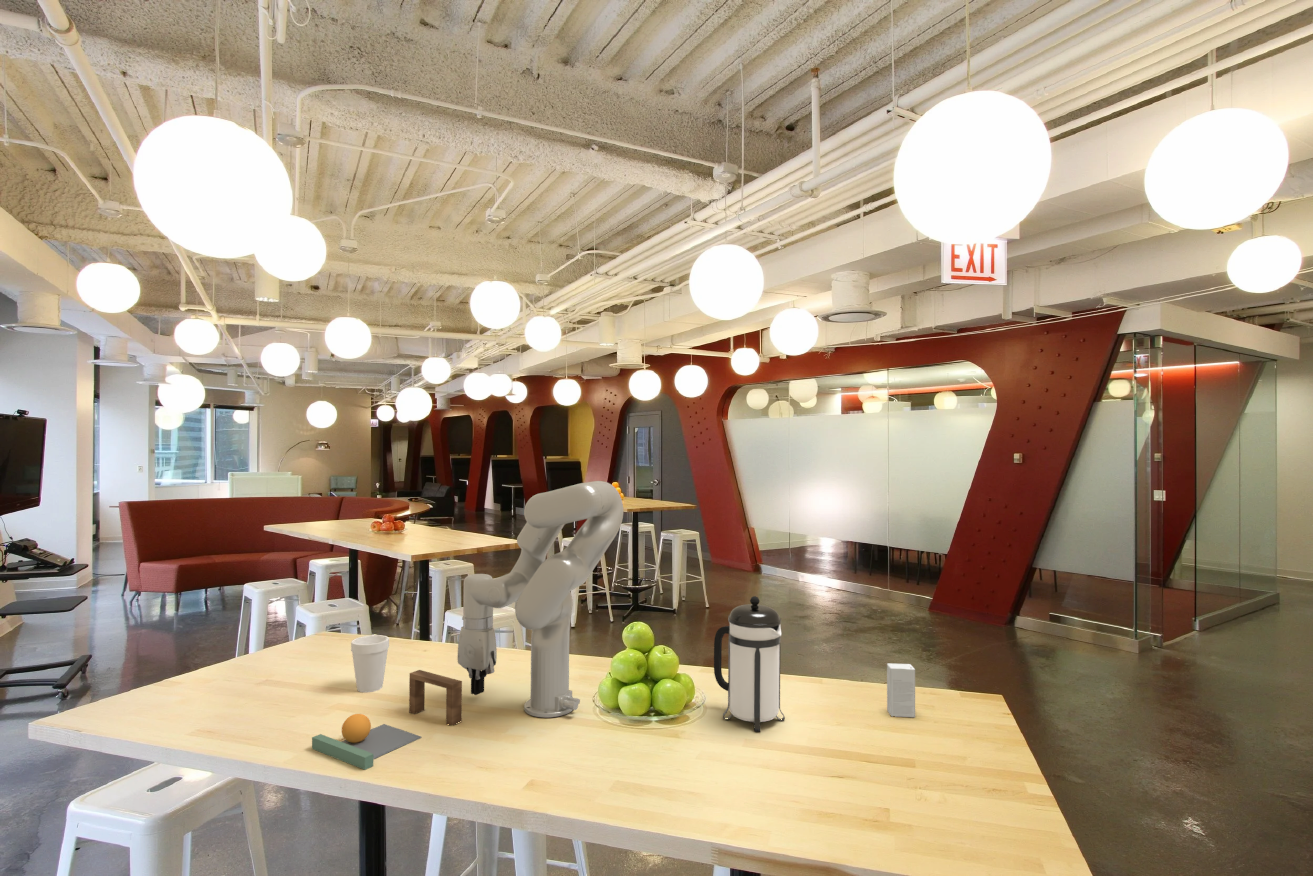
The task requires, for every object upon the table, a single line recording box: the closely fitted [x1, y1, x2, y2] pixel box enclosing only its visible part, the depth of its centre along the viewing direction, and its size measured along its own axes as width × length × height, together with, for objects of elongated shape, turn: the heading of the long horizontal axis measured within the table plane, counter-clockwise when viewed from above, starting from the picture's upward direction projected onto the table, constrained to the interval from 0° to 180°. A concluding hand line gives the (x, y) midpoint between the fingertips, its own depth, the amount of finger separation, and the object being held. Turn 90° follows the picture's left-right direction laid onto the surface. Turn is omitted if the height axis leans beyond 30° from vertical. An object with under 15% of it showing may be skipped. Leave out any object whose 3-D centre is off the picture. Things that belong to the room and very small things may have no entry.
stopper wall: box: [311, 733, 374, 771], centre depth 147 cm, size 18×2×2 cm, turn 59°
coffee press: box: [713, 595, 786, 733], centre depth 169 cm, size 17×16×30 cm
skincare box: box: [886, 662, 916, 718], centre depth 173 cm, size 6×4×12 cm
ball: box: [341, 713, 372, 743], centre depth 154 cm, size 6×6×6 cm
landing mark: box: [340, 723, 422, 760], centre depth 154 cm, size 13×13×1 cm
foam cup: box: [350, 634, 390, 693], centre depth 187 cm, size 10×9×13 cm
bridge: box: [408, 669, 463, 726], centre depth 168 cm, size 3×15×10 cm, turn 59°
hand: (477, 692), depth 180 cm, fingers closed
